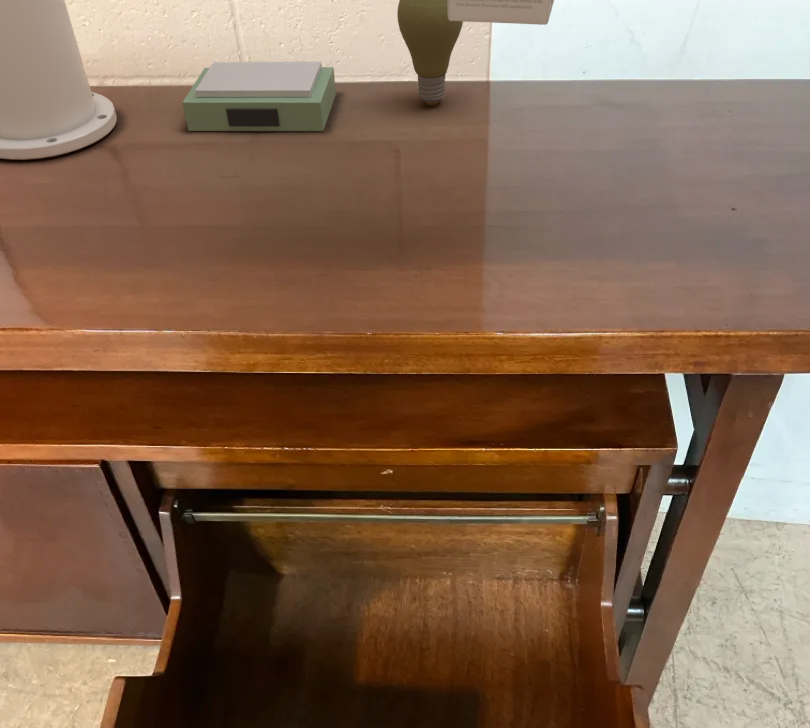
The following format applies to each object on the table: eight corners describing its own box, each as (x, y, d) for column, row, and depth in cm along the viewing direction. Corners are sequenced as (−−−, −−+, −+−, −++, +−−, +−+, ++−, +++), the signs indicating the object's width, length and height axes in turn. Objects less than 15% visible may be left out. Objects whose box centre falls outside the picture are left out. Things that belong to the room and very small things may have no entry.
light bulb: (399, 116, 74) (394, -15, 67) (402, 91, 78) (397, -35, 70) (462, 115, 74) (464, -16, 66) (462, 90, 78) (464, -37, 70)
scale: (187, 132, 73) (179, 96, 71) (209, 95, 79) (203, 60, 77) (323, 132, 72) (319, 95, 70) (336, 94, 78) (333, 59, 76)
